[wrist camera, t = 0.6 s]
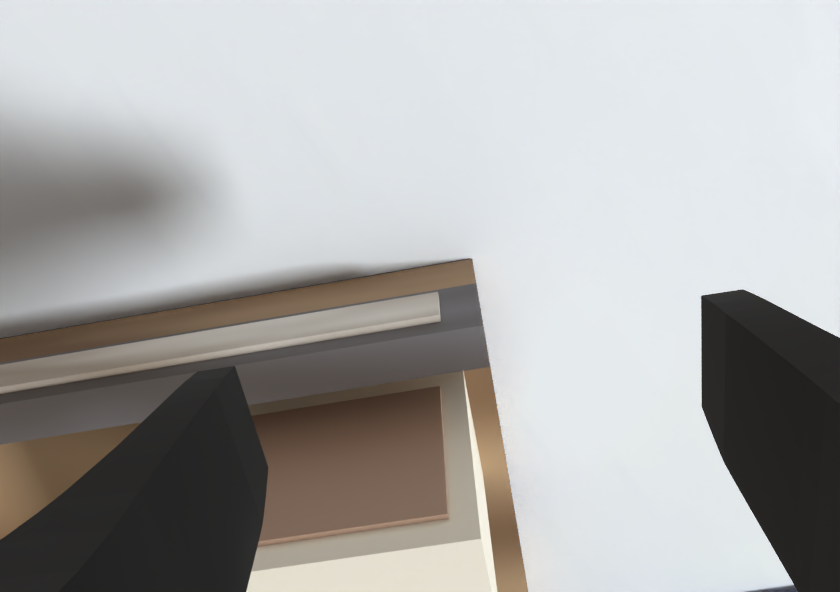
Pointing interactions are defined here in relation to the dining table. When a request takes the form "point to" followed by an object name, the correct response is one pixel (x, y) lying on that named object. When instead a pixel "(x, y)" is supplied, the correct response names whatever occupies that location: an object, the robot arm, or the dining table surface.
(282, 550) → the cream carton
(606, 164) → the dining table surface
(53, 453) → the shelf board
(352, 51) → the dining table surface
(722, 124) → the dining table surface
